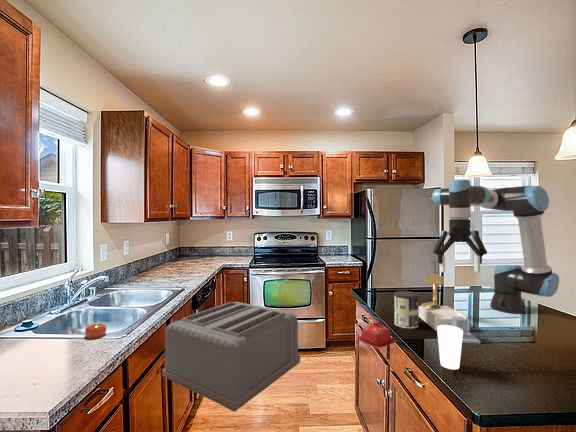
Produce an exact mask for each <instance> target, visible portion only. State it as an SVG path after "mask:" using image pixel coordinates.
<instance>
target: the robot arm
mask: <svg viewBox="0 0 576 432" xmlns="http://www.w3.org/2000/svg"><path fill="white" fill-rule="evenodd" d="M448 185H449V187H448V188H447V187H446V188H438V189H435V190H434V191H433V192H432V195H431V199H432V203H433V204H434V205H436V206H449V208H448V210H449V211H448V216H449V218H450V219H449V220H448V225H449V226H448V228H449V229H448V230H447V231H446V230H441V231H440V236H439V239H438V240H437V243H436V245H435V246H434V248H433V250H432V253H433V254H435V255H437V263H438V264H439V271H440V272H441V273H446V255H444V254H446V252H447V251H448V249H450V247H452V245H453V244H454V243H466V244H467V245H468V247H469V248H470V249H471V250H472V251H473V253H475V254H474V256H473V272H475V273H481V264H483V256H484V255H487V254H488V251H487V249H486V247H485V244H484V243H483V241H482V239H481V237H480V233H479V230H471V226H472V225H471V223H472V222H471V217H472V216H471V209H472V208H471V207H481V208H483V209H487V210H488V209H489V210H494V211H501V212H513V213H512V215H513V217H515V218H516V219H517V220H518V229H519V234H520V243H521V247H522V248H521V249H522V256H523V263H524V265H523V266H521V265H517V264H506V265H503V264H502V265H497V266H495V267H494V272H493V278H494V279H493V283H494V284H493V285H494V287H493V289H494V290H493V291H494V293H493V295H492V298H491V301H490V308H491V309H493V310H495V311H499V312H503V313H509V314H525V313H526V306H525V303H524V300H523V297H522V293H524V294H529V295H535V296H539V297H547V298H551V297H553V296H554V295H555V294H556V292H557V291H558V290H559V285H560V276H559V275H558V274H557V273H555V272H553V268H552V267H551V266H550V265H548V262H547V254H546V247H545V246H546V245H545V242H544V241H545V240H544V234H543V226H542V218H541V217H542V216H543V215H544V214H545V211H546V210H547V209H548V208H549V204H550V199H549V196H548V192H547V190H546V189H544V188H543V186H541V185H523V186H520V185H519V186H511V187H509V186H508V187H502V188H494V189H488V188H487V187H485V186H481V185H472V184H471V181H470V180H469V179H454V180H451V181H449V184H448ZM448 236H449V238H448V239H447V237H448ZM470 236H472V237H473V239H472V238H471V237H470ZM446 239H447V241H446ZM473 240H474V241H473ZM445 241H446V242H445ZM474 242H475V243H474Z"/></svg>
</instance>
